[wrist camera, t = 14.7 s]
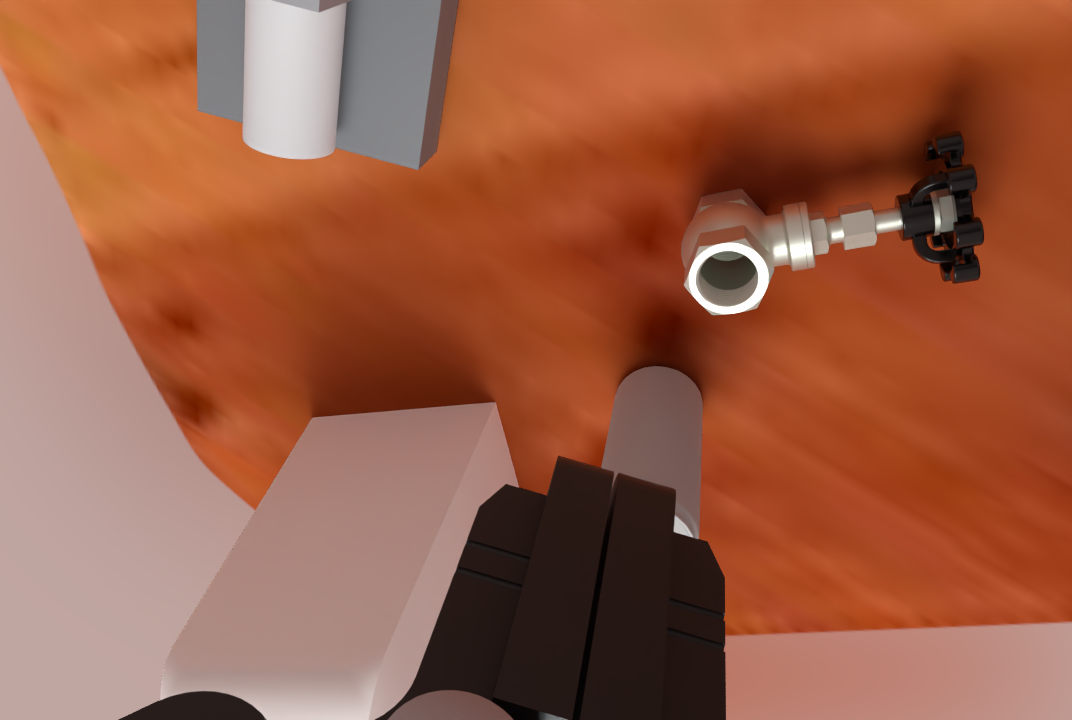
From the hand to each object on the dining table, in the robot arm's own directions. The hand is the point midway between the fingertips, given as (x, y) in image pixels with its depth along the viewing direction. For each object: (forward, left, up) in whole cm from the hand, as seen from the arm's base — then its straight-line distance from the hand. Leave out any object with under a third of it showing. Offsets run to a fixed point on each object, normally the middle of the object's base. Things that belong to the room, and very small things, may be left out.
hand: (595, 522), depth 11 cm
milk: (+29, -8, -32) cm, 44 cm away
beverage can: (+18, +4, -32) cm, 37 cm away
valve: (+6, +8, -32) cm, 34 cm away
